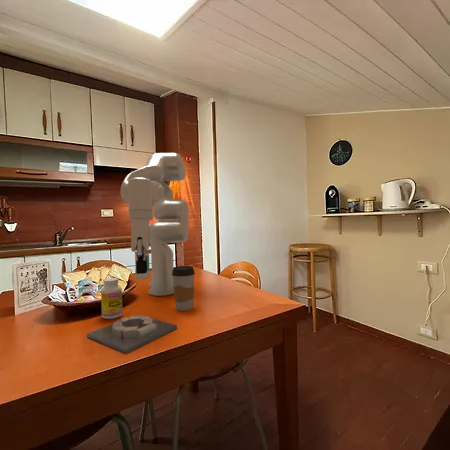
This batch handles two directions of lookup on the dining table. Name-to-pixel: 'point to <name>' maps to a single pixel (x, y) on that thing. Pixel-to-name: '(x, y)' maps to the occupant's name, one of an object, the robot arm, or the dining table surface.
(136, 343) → the hub plate
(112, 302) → the supplement bottle
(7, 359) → the dining table surface
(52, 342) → the dining table surface
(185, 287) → the coffee cup
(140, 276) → the knob
